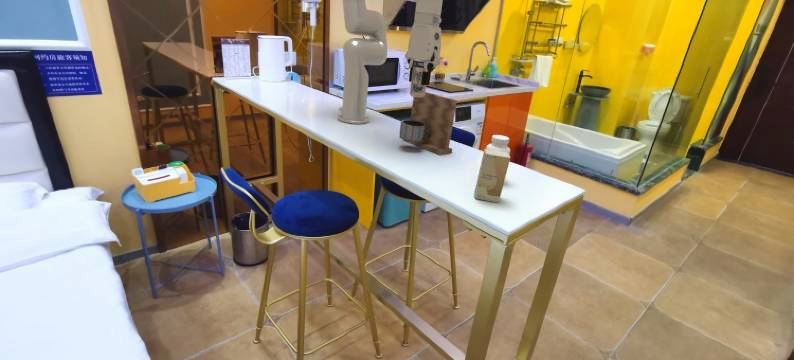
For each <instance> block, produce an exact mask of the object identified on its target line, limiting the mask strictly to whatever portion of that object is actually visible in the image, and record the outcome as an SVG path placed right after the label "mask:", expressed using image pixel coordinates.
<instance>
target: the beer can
mask: <svg viewBox="0 0 794 360" xmlns="http://www.w3.org/2000/svg"><path fill="white" fill-rule="evenodd" d="M428 66H429V63H428ZM422 72H425V71H424V61H422V60H420V59H418V58H416V59H414V64H413V73H412V81H411V82H410V90H409V91H410V92H409V95H410V96H411V97H412V98H413V97H416V98H422V97H424V96H425V92H426V89H427V88H426V87H427V85H421V80H422Z"/></svg>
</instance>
